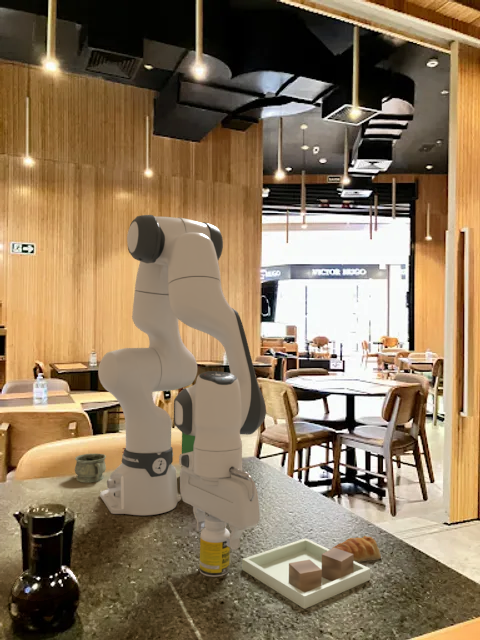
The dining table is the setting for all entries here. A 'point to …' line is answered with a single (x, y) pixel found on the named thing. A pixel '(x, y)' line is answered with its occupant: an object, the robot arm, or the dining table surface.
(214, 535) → the supplement bottle
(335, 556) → the walnut block
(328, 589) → the tray
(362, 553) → the pastry
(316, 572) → the walnut block
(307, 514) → the dining table surface
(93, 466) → the vessel
